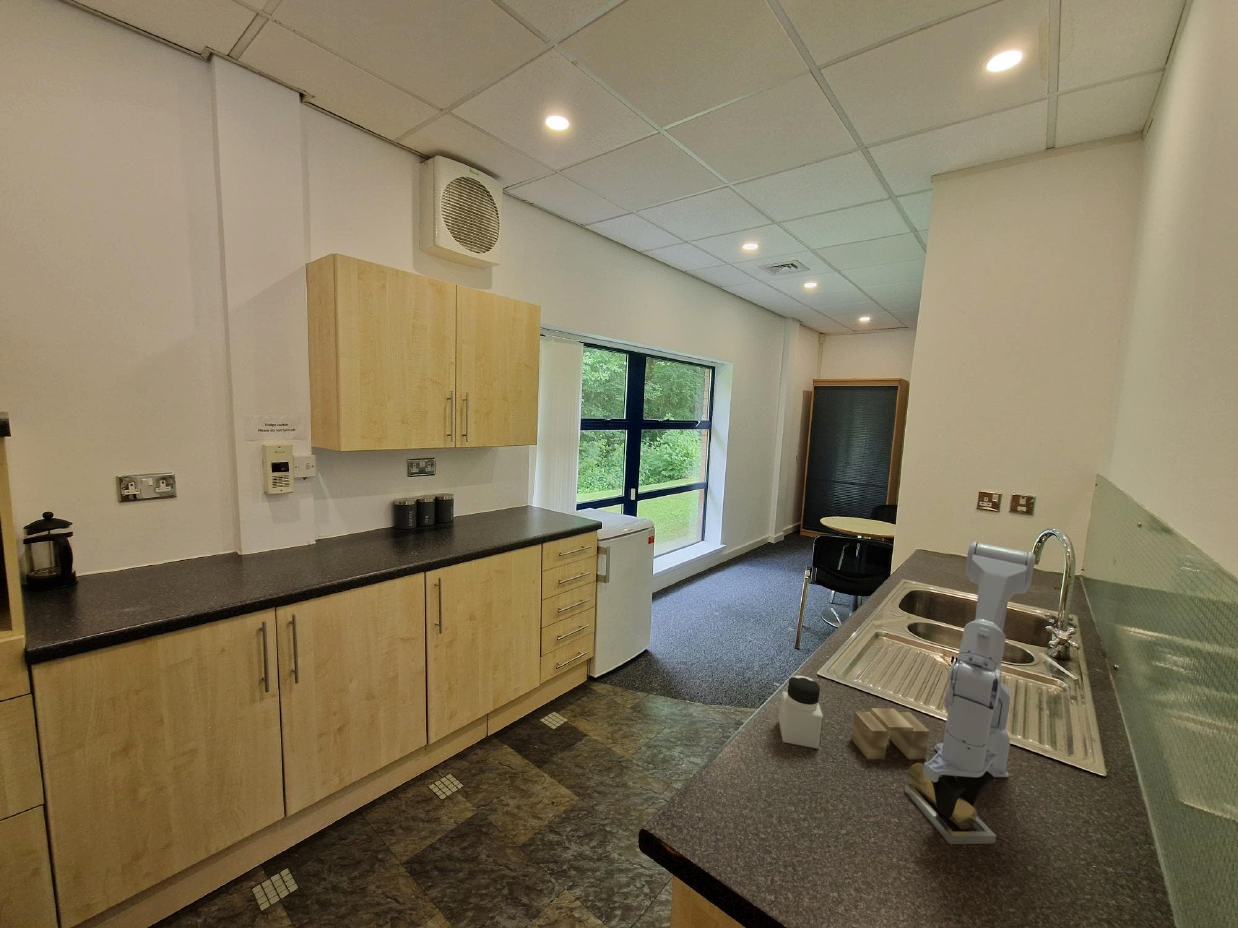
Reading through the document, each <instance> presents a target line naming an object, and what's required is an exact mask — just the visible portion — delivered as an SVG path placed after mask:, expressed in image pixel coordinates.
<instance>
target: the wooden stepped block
mask: <svg viewBox="0 0 1238 928" xmlns="http://www.w3.org/2000/svg"><path fill="white" fill-rule="evenodd" d="M889 732H890V733H889ZM889 734H890V735H889ZM929 735H930V730H929V729H928V728H927V727H925V725H924V724H922V722H920V721H919V720H918V719H917V718H916V717H915V716H914V715H913V714H912V713H911V712H909V711H904V712H903V711H897V710H896V709H895V708H892V707H891V708H888V707H887V708H883V707H882V708H881V707H879V708H878V707H877V708H876V707H873V708H870V711H854V715H853V722H852V729H851V736H850V737H851V740H852V741H853V742H854V744H855V745H856V746H857V748H858V749H859V750H860V751H861V753H863V755H864V756H865V757H866V759H867V760H885V759H886V752H887V745H888V738H889V740H890V741H891V742H892V743H893V744H894V745H895V746H896V747H897V748H898V749H899V750H900V752H902V754H903V755H904V756H905V757H906V758H907V759H908V760H926V756H927V751H928V744H929V738H930V736H929Z"/></svg>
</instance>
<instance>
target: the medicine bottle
mask: <svg viewBox="0 0 1238 928" xmlns="http://www.w3.org/2000/svg"><path fill="white" fill-rule="evenodd" d="M820 692H821V687H820V685H819V684H818V681H815V680H814V679H813V678H810V677H807V676H804V675H793V676H791V677H789V679H788V685H787V691H782V693H781V698H780V707H779V714H778V715H779V716H778V723H779V728H780V729H779V730H780V735H781V739H782V742H783V743H787V744H791V745H796V746H801V747H806V748H813V749H817V750H819V749H820V746H821V738H822V732H823V731H822V729H823V722H824V715H823V712H822V710H821V706H820V703H819V701H820Z"/></svg>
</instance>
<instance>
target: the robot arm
mask: <svg viewBox="0 0 1238 928" xmlns="http://www.w3.org/2000/svg"><path fill="white" fill-rule="evenodd" d="M1035 562H1036V555H1035V554H1034V552H1033V551H1025V550H1019V549H1013V548H1008V547H1003V546H999V545H992V544H987V543H982V542H979V541H976V540H975V541H972V542H970V544H969V547H968V550H967V555H966V561H965V570H966V576H967V577H968V581H970V582H971V583H974V584H975V585H977V586H978V590H977V599H976V610H975V619H974V620H971V621H970V622H968V623H966V624H965V626H964V628H963V632H962V638H961V641H960V646H959V651H958V655H957V660H954V661H953V663H952V665H951V668H950V673H949V678H948V683H947V687H946V691H945V696H944V702H943V703H944V704H943V707H944V708H945V711H946V712H947V715H946V722H945V729H944V734H943V742H940V743H937V744H936V745H935V746H934V750H935V751H936V752H937V753H936V754H935V755H934V756H933V757H932V758H931V759H930V760H929V761H927V762H924V763H923V765H924V769H923V774H924V775H925V776H926V777H928V778H929V779H930V780H931V782H932V784H933V788H934V793H935V799H936V806H937V807H936V806H935V807H936V809H937V810H938V812H940V813H941V814H943V815H944V816H945V817H946V818H947V819H949V817H951V816H952V814H953V812H954V809H955V805H956V802H957V800H958V798H959V796H961V797H962V798H963V799H964V800H965V801H967V802H968V803H969V804H970V805H971V806H972V807H974V808H975V805H976V803H977V801H978V800H979V798H980V797H981V795H982V794H983V793H984V791H985V790H986V789H987V788H988V787H989V786H990V785H991V784H993V783H994V781H995V778H1009V777H1010V776H1009V775H1010V774H1009V773H1008V772H1007V771H1006V769H1007V762H1008V757H1009V751H1010V746H1011V741H1010V736H1009V733H1008V731H1007V729H1006V728H1007V723H1008V719H1009V718H1008V717H1009V713H1010V705H1011V701H1010V700H1011V692H1010V689H1009V687H1008V686H1007V685H1006V684H1005V683H1003V677H1002V667H1003V666H1002V664H1003V658H1004V652H1005V645H1006V640H1007V637H1006V635H1005V633H1004V627H1005V621H1006V615H1007V609H1008V603H1009V601H1010V600H1011V598H1013V596H1014V595H1018V594H1019V595H1020V594H1027V591H1028V590H1029V589H1030V585H1031V584H1032V580H1033V574H1034V568H1035Z"/></svg>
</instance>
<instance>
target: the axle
mask: <svg viewBox="0 0 1238 928" xmlns="http://www.w3.org/2000/svg"><path fill="white" fill-rule="evenodd" d="M923 769H924V763H922V762H915V763H913V764H912V765H911V766H910V767H909V768H908V770H907V772H906V780H907V781H908V783H909V784H912V786H913V787H914V788H915V789H916V790H917V791H918V792H920V793H921V794H922V795H923V796H924V797H925V798H926V799H927V800H928V801H930V802H931V803H932V804H933V805H934V806H935V807H936V808H937V806H936V799H935V793H934V788H933V784H932V782H931V780H930V779H929V778H928V777H926V776H925V775H924V774H923ZM977 816H978V812H977V809H976V808H975V806H974V807H972V806H971V805H970V804H969V803H968V802H967V801H965V800H964V799H963V798H962V797H961V796H959V798H958V800H957V802H956V805H955V809H954V812H953V814H952V816H951V817H949V818H948V819H949V820H950V821H951V822H953V824H955V825H956V826H957V827H958V828H959V829H960V830H967V829H969V828H971V827H973V826H972V825H973V823H974V822H975V820H976V817H977Z"/></svg>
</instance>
